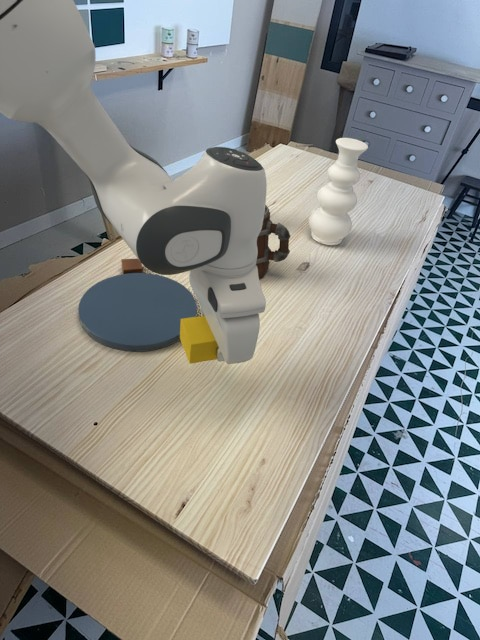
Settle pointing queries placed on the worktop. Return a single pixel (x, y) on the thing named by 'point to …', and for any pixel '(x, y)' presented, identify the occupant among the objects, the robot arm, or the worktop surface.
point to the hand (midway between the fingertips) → (214, 342)
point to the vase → (337, 195)
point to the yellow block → (197, 339)
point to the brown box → (131, 266)
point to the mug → (264, 249)
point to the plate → (136, 311)
